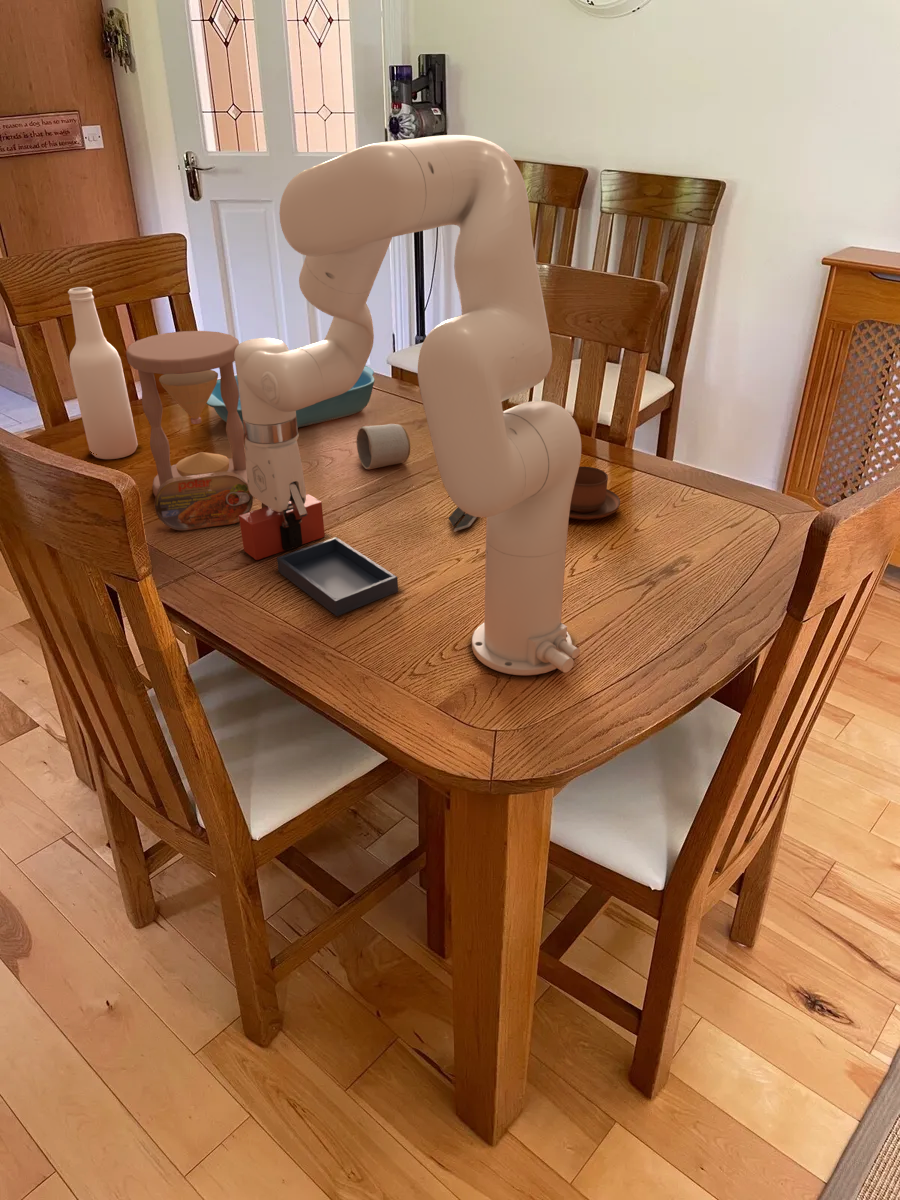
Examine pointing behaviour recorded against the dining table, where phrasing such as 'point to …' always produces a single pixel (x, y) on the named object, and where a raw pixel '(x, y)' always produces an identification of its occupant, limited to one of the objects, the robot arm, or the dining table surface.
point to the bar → (278, 528)
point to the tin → (203, 500)
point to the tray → (337, 575)
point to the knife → (464, 522)
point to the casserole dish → (319, 411)
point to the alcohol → (99, 383)
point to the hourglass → (189, 395)
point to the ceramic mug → (382, 445)
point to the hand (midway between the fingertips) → (284, 540)
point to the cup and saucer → (592, 495)
